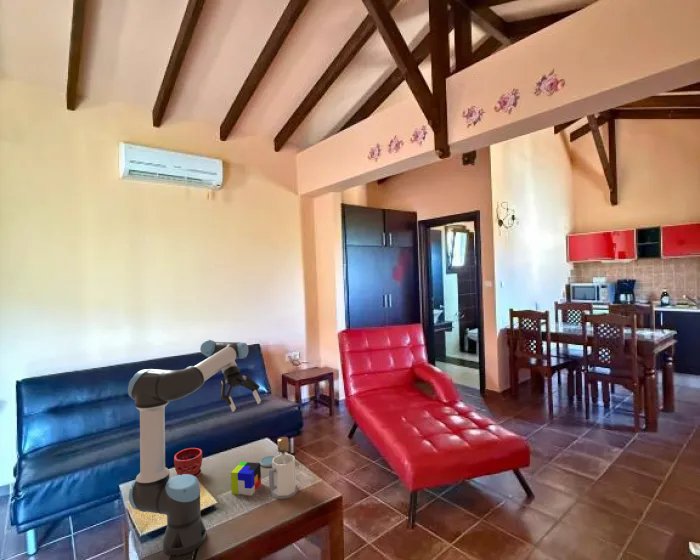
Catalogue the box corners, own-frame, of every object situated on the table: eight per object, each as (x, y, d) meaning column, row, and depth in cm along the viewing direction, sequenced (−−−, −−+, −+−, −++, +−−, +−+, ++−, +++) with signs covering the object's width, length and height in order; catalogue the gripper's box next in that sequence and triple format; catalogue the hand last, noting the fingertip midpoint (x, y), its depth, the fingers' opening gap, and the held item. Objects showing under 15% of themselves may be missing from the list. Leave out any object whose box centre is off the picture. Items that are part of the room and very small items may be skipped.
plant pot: (169, 478, 189) (168, 455, 188) (194, 467, 199) (193, 445, 199) (183, 487, 181) (182, 462, 180) (208, 475, 191) (207, 451, 191)
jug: (279, 504, 165) (278, 470, 165) (263, 493, 173) (262, 461, 173) (303, 490, 175) (301, 458, 175) (286, 481, 183) (285, 450, 183)
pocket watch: (284, 444, 199) (254, 449, 195) (284, 465, 199) (255, 470, 195) (282, 437, 208) (254, 441, 204) (283, 456, 208) (255, 460, 205)
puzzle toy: (251, 495, 172) (250, 474, 172) (231, 493, 174) (230, 472, 174) (261, 483, 182) (260, 463, 182) (242, 482, 184) (241, 461, 184)
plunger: (282, 493, 169) (281, 444, 168) (272, 486, 174) (270, 439, 174) (296, 485, 175) (295, 438, 174) (285, 479, 180) (284, 434, 180)
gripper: (249, 369, 200) (266, 403, 190) (203, 379, 182) (220, 418, 171) (254, 360, 196) (272, 395, 186) (208, 370, 178) (225, 408, 168)
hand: (247, 406), depth 179 cm, fingers open, 13 cm apart
